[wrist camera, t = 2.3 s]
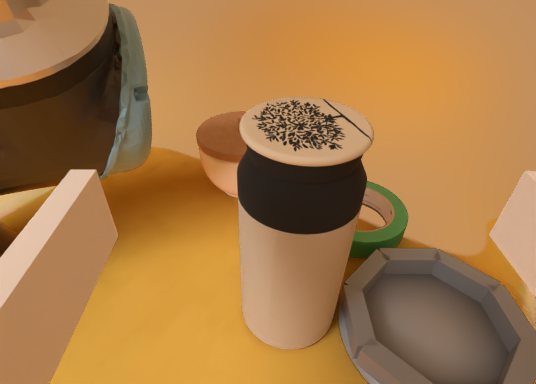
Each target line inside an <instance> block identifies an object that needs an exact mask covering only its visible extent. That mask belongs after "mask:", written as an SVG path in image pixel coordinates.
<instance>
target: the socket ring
mask: <svg viewBox="0 0 536 384" xmlns="http://www.w3.org/2000/svg"><path fill="white" fill-rule="evenodd" d="M499 283H500V281H498V280H496V279H494V278H492V277H490V276H489V275H487V274H485V273H483V272H481V271H479V270H477V269H476V268H474V267H472V266H470V265H468V264H466V263H464V262H462V261H461V260H459V259H457V258H455V257H453V256H451V255H449V254H447V253H446V252H444V251H442V250H440V249H439V250H438V252H437V250H436V248H380V249H379V250H377V249H376V250H375V251H374V252H373V253H372V254H371V255H370V256H369V257H368V258H367V259H366V260H365V261H364V262H363V263H362V265H361V266H360V267H359V268H358V269H357V270H356V271H355V272H354V273H353V274H352V275H351V276H350V277H349V278H348V279H347V280H346V281H345V282H344V285H343V290H342V294H341V298H340V303H339V308H338V323H339V330H340V334H341V338H342V341H343V344H344V346H345V349H346V351H347V353H348V355H349V357H350V359H351V361H352V363H353V364H354V366H355V367H356V369H357V370H358V371H359V373H360V374H361V376H362V377H363V378H364V379H365V380H366V381H367V383H368V384H534V381H535V378H536V332H535V330H534V329H533V327H532V326H531V324H530V323H529V321H528V320H527V318H526V317H525V315H524V314H523V312H522V311H521V309H520V308H519V306H518V305H517V304H516V302H515V301H514V299H513V298H512V296H511V295H510V293H509V292H508V290H507V289H506V287H505V286H504V285H499Z"/></svg>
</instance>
